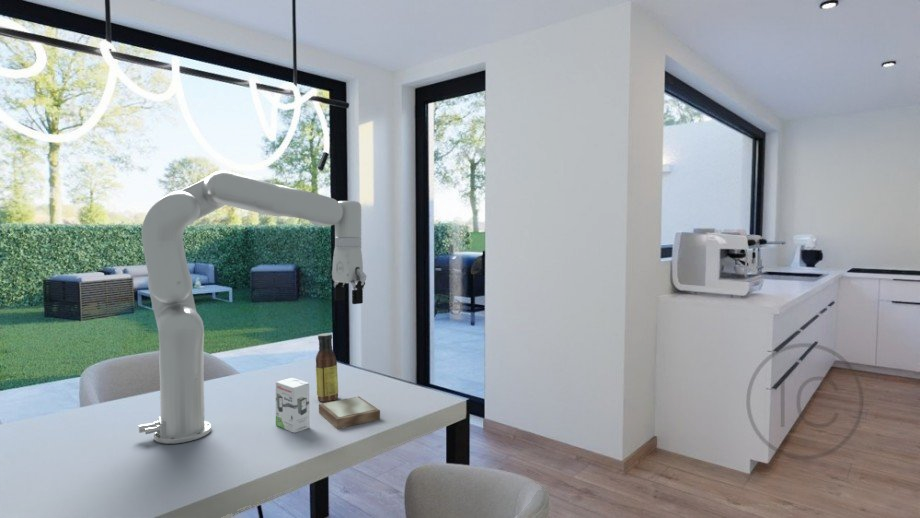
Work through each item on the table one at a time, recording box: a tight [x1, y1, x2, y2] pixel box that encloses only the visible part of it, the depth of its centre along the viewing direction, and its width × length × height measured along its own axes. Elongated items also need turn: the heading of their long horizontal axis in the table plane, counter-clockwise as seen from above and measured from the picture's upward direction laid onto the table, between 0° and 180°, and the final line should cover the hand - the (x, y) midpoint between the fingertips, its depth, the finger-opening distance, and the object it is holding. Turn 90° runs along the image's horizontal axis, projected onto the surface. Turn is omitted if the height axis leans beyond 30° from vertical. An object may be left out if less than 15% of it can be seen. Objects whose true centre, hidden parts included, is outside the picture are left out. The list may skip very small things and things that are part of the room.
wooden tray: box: [318, 396, 381, 430], centre depth 139 cm, size 12×14×3 cm
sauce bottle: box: [315, 332, 339, 403], centre depth 152 cm, size 7×6×20 cm
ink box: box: [275, 377, 311, 434], centre depth 131 cm, size 9×5×12 cm, turn 52°
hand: (348, 301), depth 148 cm, fingers open, 9 cm apart
